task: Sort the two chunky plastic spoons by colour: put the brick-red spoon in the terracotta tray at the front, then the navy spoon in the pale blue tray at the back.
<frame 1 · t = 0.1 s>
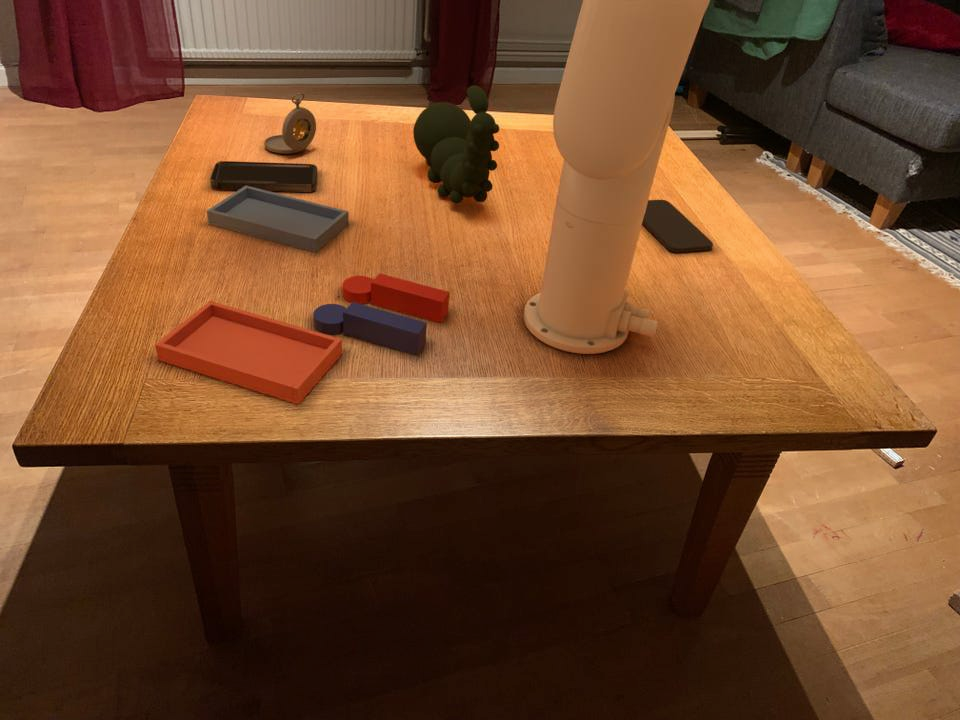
toy figurine: (450, 187, 116), on the table
phone: (667, 228, 112), on the table
phone 2: (265, 181, 111), on the table
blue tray: (279, 224, 101), on the table
red spoon: (409, 308, 88), on the table
pocket watch: (289, 151, 121), on the table
blue spoon: (384, 339, 82), on the table
red tray: (252, 357, 78), on the table
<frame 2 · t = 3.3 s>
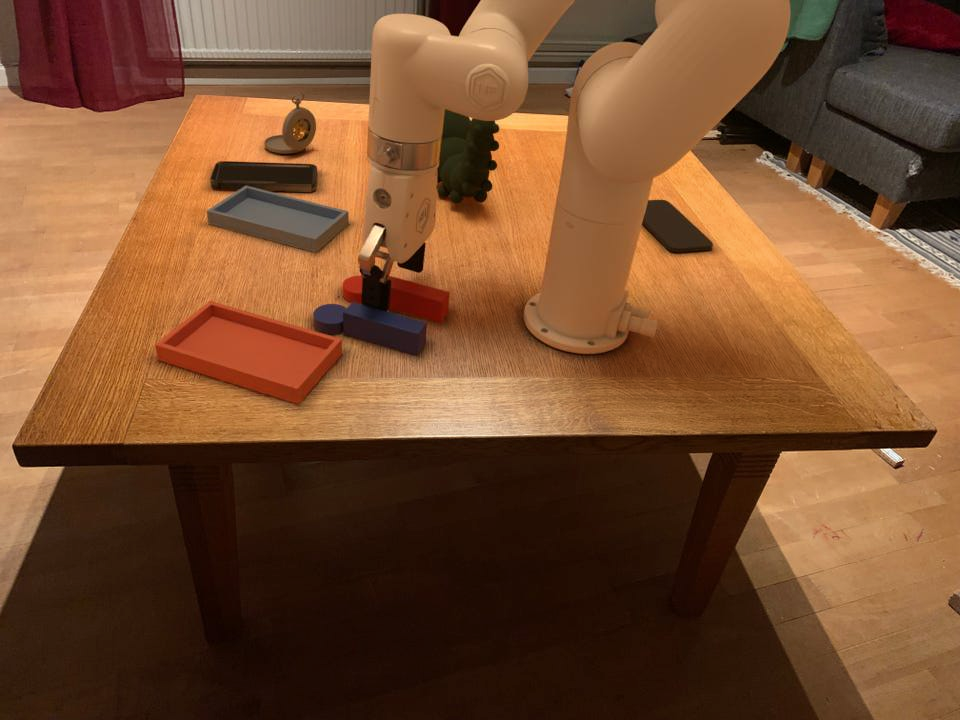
hand: (393, 287, 86), 3 cm above the table, tool pointing down, fingers open, 9 cm apart
blue spoon: (384, 339, 82), on the table, touching gripper
everything else where it was.
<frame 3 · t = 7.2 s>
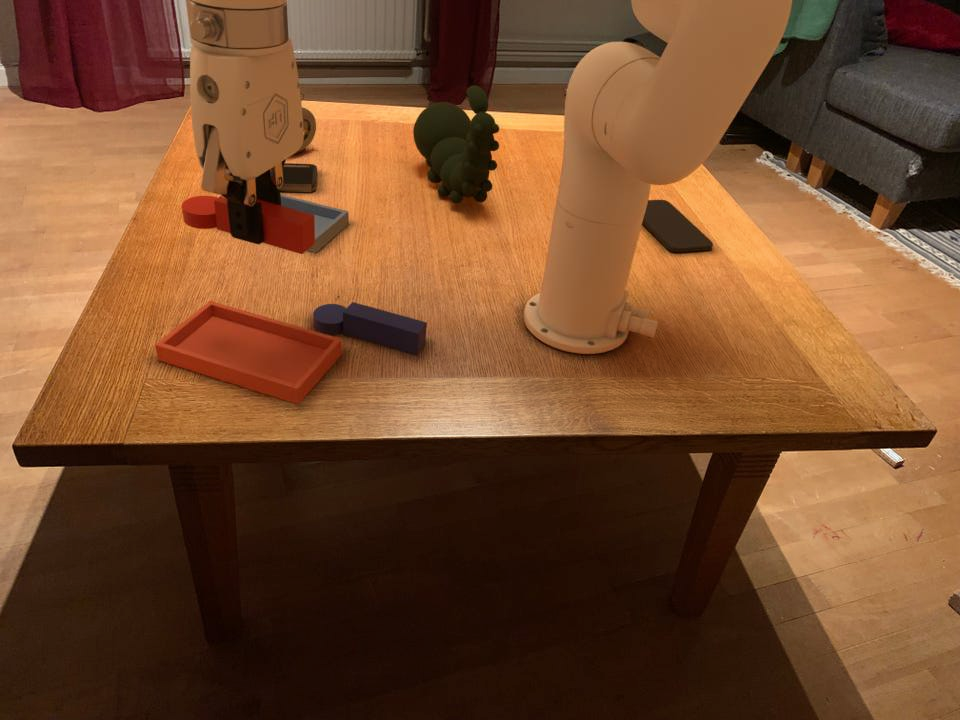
hand: (257, 231, 69), 15 cm above the table, tool pointing down, fingers closed on red spoon, 2 cm apart
red spoon: (266, 236, 69), point 14 cm above the table, touching gripper
blue spoon: (384, 339, 82), on the table
everything else where it was.
when the fingers open (1 cm above the table, at t = 11.2 s): red spoon stays where it is, resting on red tray.
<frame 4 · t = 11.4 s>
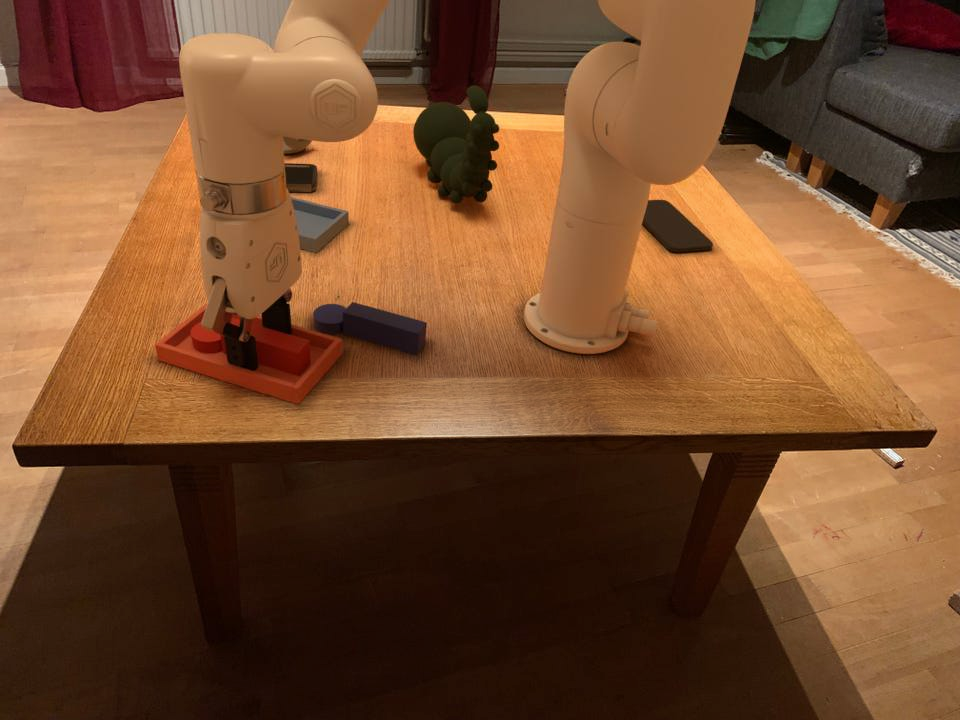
hand: (260, 347, 76), 2 cm above the table, tool pointing down, fingers open, 5 cm apart
red spoon: (266, 358, 77), resting on red tray
everything else where it was.
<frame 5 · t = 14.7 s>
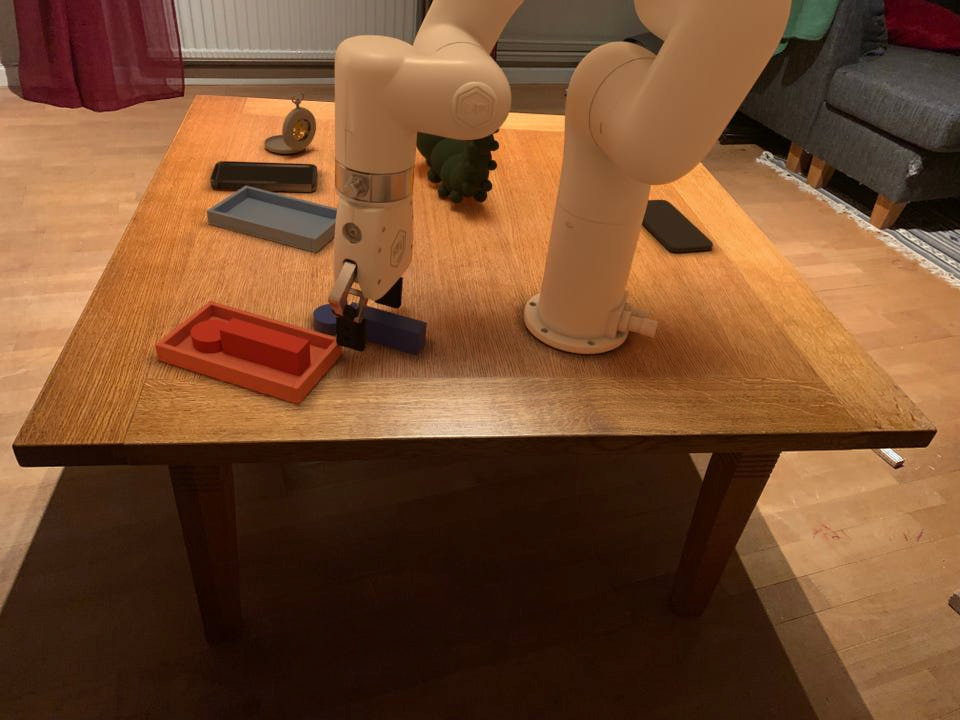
hand: (370, 324, 81), 2 cm above the table, tool pointing down, fingers open, 8 cm apart
nothing on the table moved.
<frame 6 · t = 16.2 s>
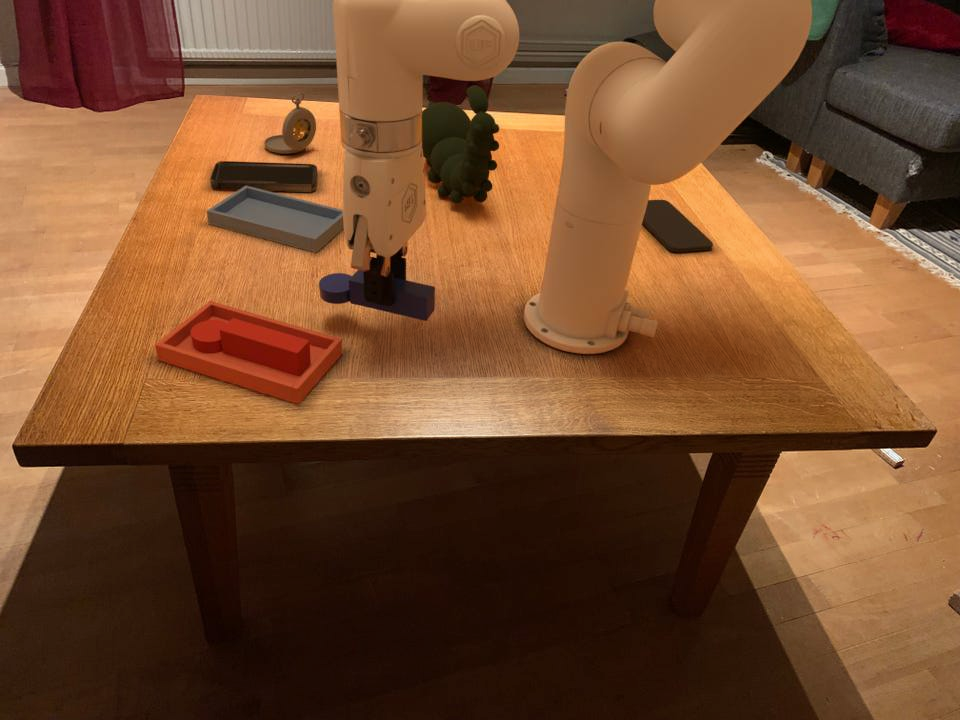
hand: (385, 294, 79), 6 cm above the table, tool pointing down, fingers closed on blue spoon
blue spoon: (392, 306, 80), point 4 cm above the table, touching gripper
everything else where it was.
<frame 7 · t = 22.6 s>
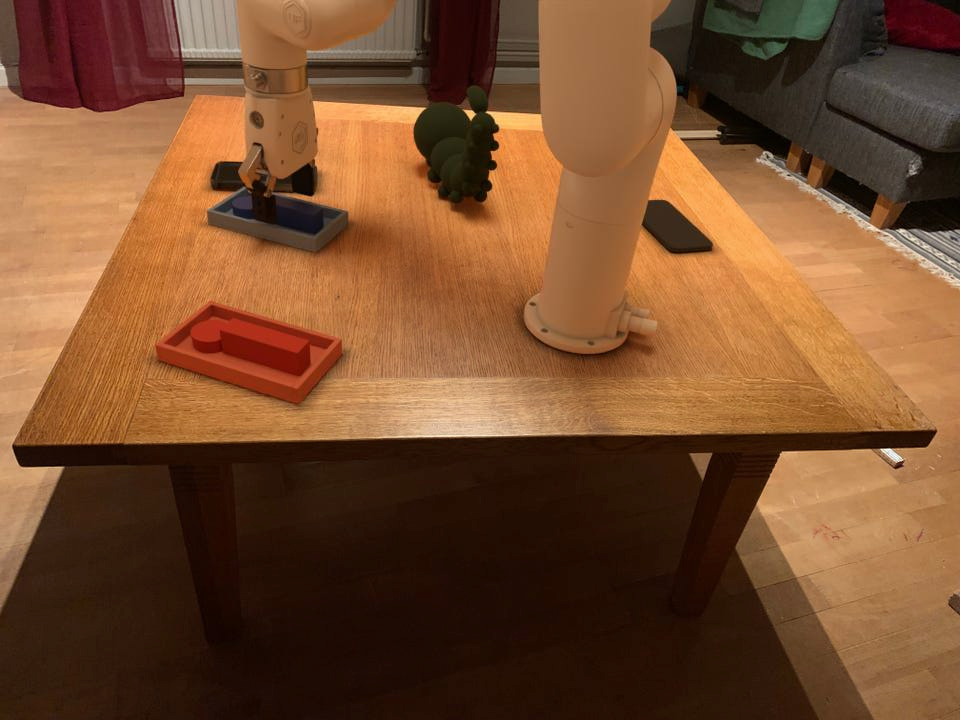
hand: (285, 207, 99), 3 cm above the table, tool pointing down, fingers open, 9 cm apart
blue spoon: (290, 223, 100), resting on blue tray
everything else where it was.
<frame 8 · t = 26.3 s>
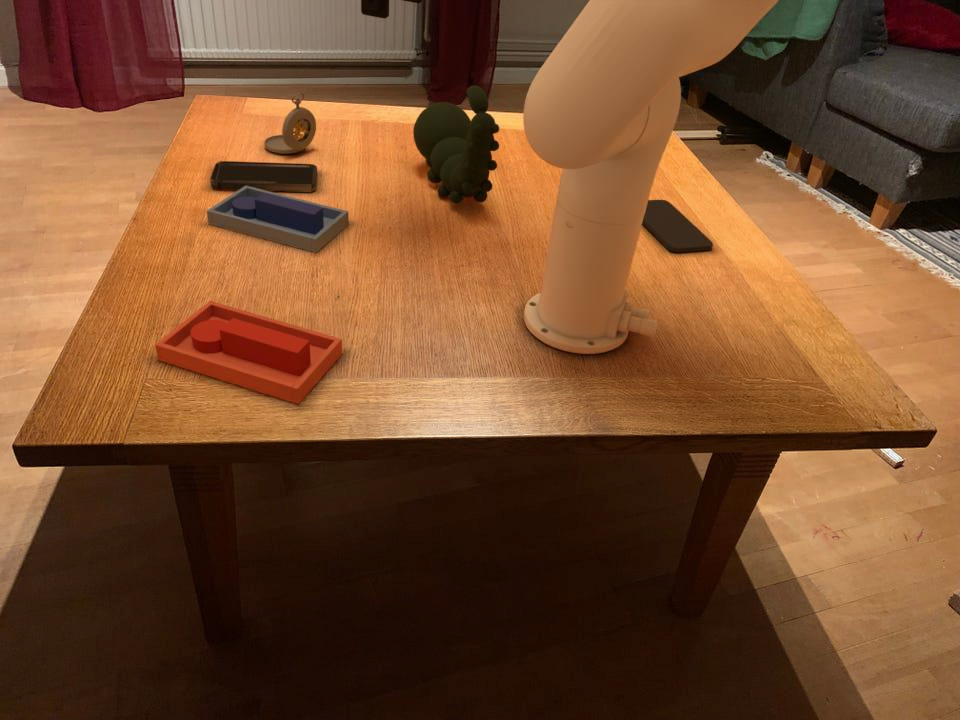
hand: (393, 8, 87), 28 cm above the table, tool pointing down, fingers open, 9 cm apart
nothing on the table moved.
at the end: red spoon inside the target area on the red tray (0.3 cm from its centre), point 0.5 cm above the red tray's base; blue spoon inside the target area on the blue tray (0.1 cm from its centre), point 0.5 cm above the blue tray's base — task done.
